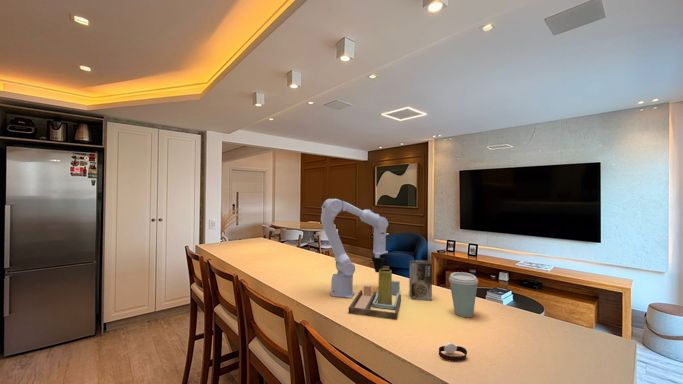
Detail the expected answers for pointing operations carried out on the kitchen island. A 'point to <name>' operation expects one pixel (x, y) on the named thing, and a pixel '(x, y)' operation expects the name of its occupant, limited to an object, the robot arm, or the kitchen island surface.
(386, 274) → the vase
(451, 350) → the watch
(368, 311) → the lane rack
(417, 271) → the coffee box
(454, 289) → the disposable coffee cup
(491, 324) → the kitchen island surface
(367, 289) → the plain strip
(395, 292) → the tray
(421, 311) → the kitchen island surface
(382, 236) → the robot arm
